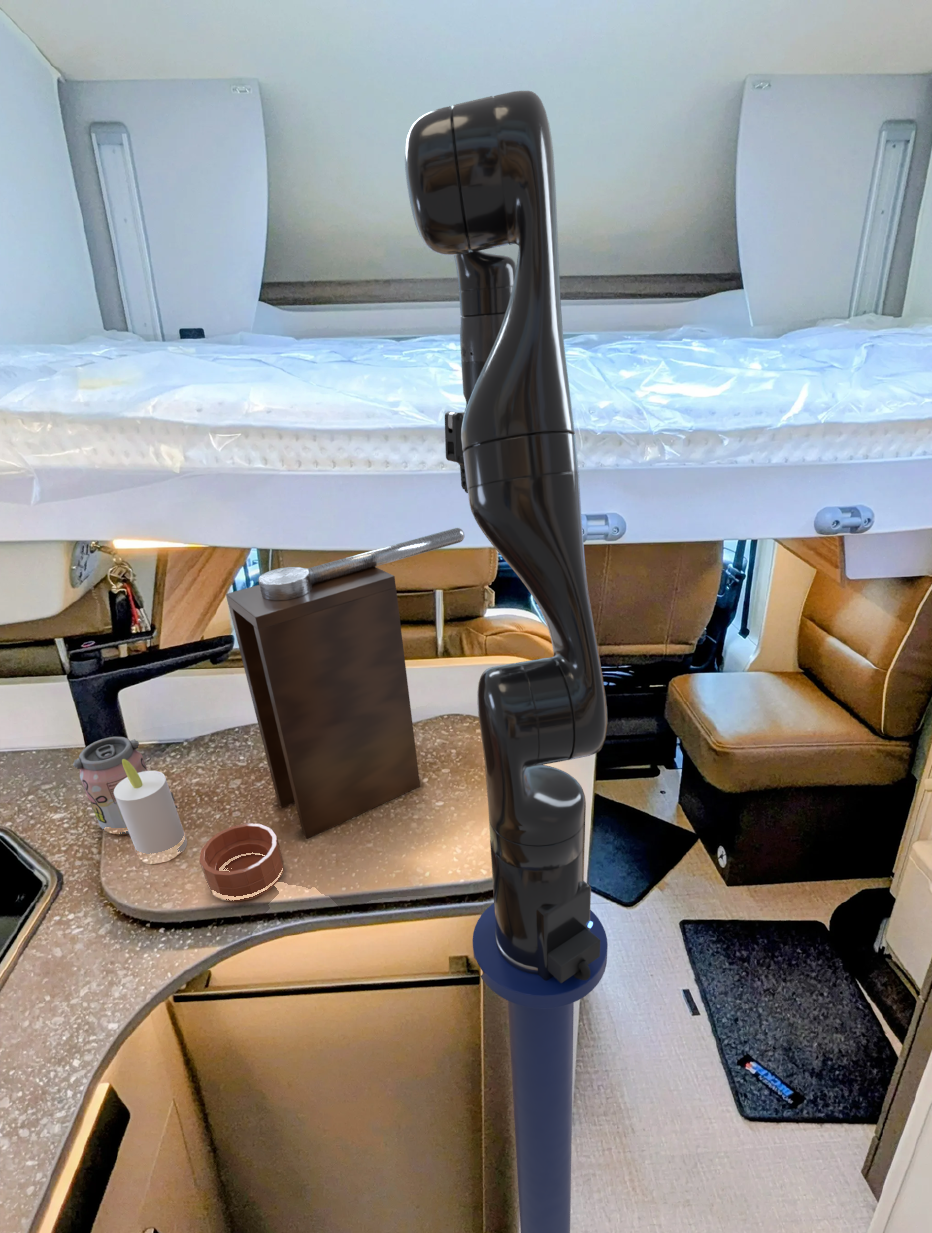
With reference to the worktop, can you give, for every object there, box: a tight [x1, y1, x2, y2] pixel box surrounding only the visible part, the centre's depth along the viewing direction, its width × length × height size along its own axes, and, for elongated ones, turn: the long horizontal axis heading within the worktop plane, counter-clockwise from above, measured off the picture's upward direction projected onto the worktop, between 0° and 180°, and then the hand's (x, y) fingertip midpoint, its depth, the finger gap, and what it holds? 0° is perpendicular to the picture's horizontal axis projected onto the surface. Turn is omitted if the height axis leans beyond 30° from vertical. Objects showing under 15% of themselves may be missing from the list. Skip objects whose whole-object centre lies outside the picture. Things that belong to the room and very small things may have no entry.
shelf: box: [225, 566, 421, 840], centre depth 94 cm, size 18×10×32 cm, turn 124°
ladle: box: [257, 527, 465, 601], centre depth 89 cm, size 29×6×2 cm, turn 124°
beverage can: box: [72, 736, 149, 835], centre depth 98 cm, size 9×8×12 cm
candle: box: [114, 759, 188, 854], centre depth 91 cm, size 6×6×15 cm
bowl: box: [198, 822, 285, 903], centre depth 87 cm, size 9×9×5 cm
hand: (496, 486), depth 96 cm, fingers open, 8 cm apart
